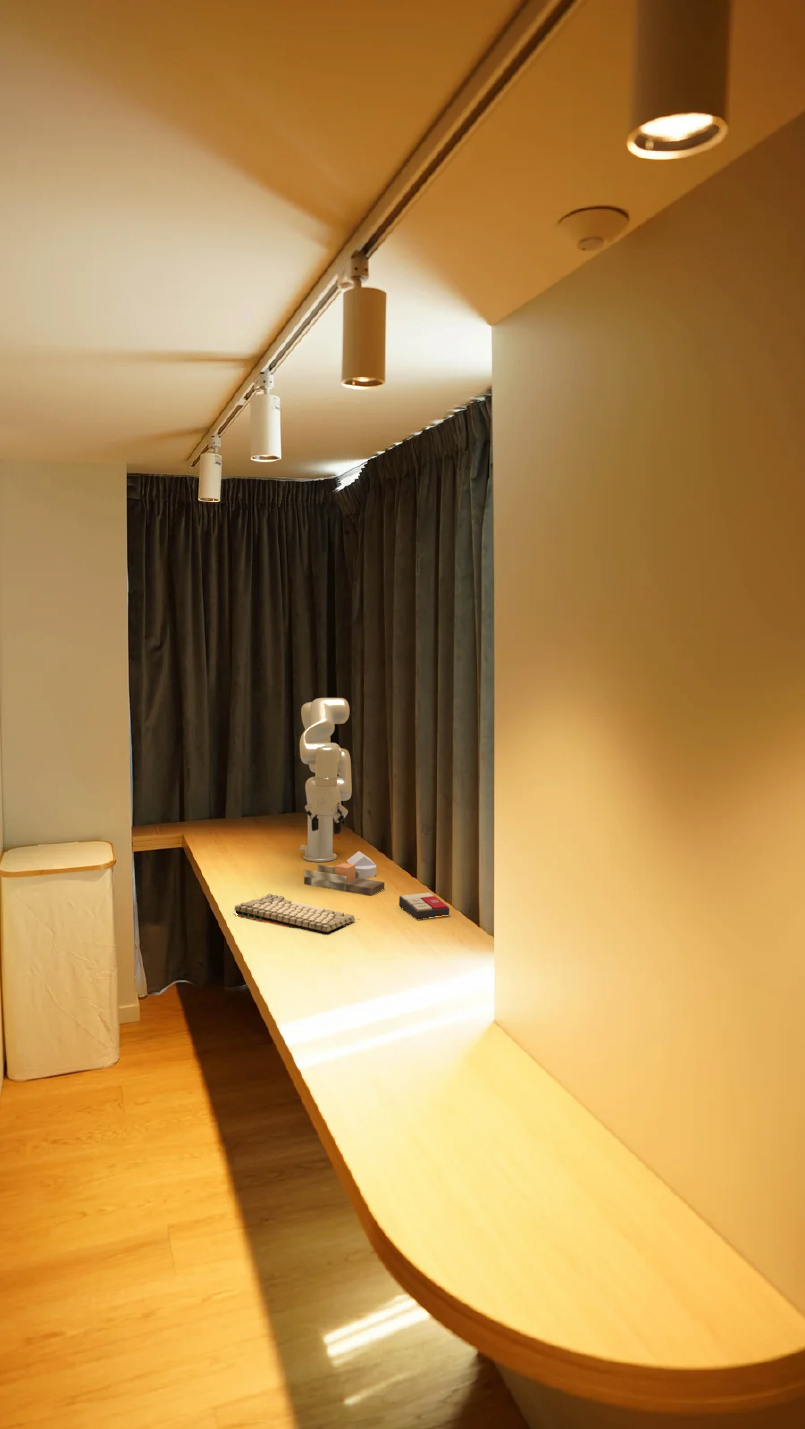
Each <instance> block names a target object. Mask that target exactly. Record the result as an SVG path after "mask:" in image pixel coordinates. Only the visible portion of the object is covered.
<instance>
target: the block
mask: <svg viewBox="0 0 805 1429" xmlns="http://www.w3.org/2000/svg"><path fill="white" fill-rule="evenodd" d="M334 867H335V875H341V876H347V883H348V882H350V881H352V880H355V865H353V864H349V863H348V862H347V863H345V862H341V863H339V864H337V865H335V866H334Z"/></svg>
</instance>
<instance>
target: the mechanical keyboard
mask: <svg viewBox="0 0 805 1429" xmlns="http://www.w3.org/2000/svg"><path fill="white" fill-rule="evenodd" d="M234 911H235V912H236V913H237V914H238V915H237V916H238V917H237V916H236V915H235V916H234V917H237V918H241V919H245V920H250V921H256V922H259V923H264V924H271V925H276V926H280V927H283V928H289V929H298V930H303V931H308V932H313V933H316V934H321V935H327V936H330V935H331V934H333V933H334V934H335V933H336V932H338V931H341V930H343V929H344V928H346V927H347V926H348V925H351V924H352V923H353V922H354V921H356V918H355V916H354V915H353V914H349V913H346V914H344V912H342V911H336V912H335V910H331V909H325V908H323V907H320V906H316V905H312V904H307V903H303V902H299V901H298V902H297V901H294V900H293V901H292V900H288V899H285V897H284V896H282V895H277V894H274V895H273V893H268V894H267V895H262V896H261V897H257V898H256V899H251V900H249V901H247V902H242V903H240V904H236V905H235V906H234ZM358 920H360V921H361V919H359V918H358Z"/></svg>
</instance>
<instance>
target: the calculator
mask: <svg viewBox="0 0 805 1429" xmlns="http://www.w3.org/2000/svg"><path fill="white" fill-rule="evenodd" d="M399 906H400V907H401V908H400V907H399ZM398 907H399V908H400V909H402V908H403V909H404V910H403V909H402V910H403V911H405V912H406V911H407V912H406V913H407V914H409V915H410V914H411V915H412V916H413V917H412V916H411V915H410V916H411V917H412V918H414V917H415V918H416V919H422V920H424V919H423V918H429V917H435V916H442V915H449V916H450V907H449V906H448V905H447V904H446V903H444V902H443V901H442V900H440V899H439V898H438V897H437V896H435V895H433V894H432V893H431V892H422V893H421V892H420V893H412V894H404V895H400V896H399V898H398ZM415 918H414V919H415ZM416 919H415V920H416Z"/></svg>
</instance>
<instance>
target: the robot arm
mask: <svg viewBox="0 0 805 1429" xmlns="http://www.w3.org/2000/svg"><path fill="white" fill-rule="evenodd" d="M300 710H301V711H300V712H301V713H300V714H301V722H302V724H303V727H304V731H303V733H302V734H301V736H300V739H299V755H300V759H301V762H302V763H303V764H305V765H308V767H309V770H310V771H311V772H312V773H315V776H312V777H309V778H308V779H307V780H306V782H305V786H304V787H305V796H306V803H307V804H306V805H304V809H305V811H306V813H307V844H301V845H300V847H299V852H300V851H302V852H304V853H305V854H303V859H304V860H305V861H309V862H314V863H315V862H316V863H322V862H323V863H324V862H325V863H326V862H331V861H334V860H336V859H337V854H336V853H335V852H333V848H334V847H333V840H334V838H333V837H334V836H333V835H338V834H341V831H342V822H343V821H344V820H345V818H346V816H347V815H348V813H349V811H348V809H347V808H346V807H345V806H343V805H342V802H344V801H348V800H350V799H351V796H352V792H353V790H352V786H353V785H352V763H351V756H350V753H349V750H347V749H346V748H341V747H340V745H339V744H337V743H336V742H331V736H332V735H333V734H334V732H335V725H339V724H340V725H341V724H342V725H343V724H345V723H346V722H347V721H348V719H349V716H350V705H349V702H348V701H347V699H346V698H343V697H320V698H319V697H318V698H315V699H314V700H313V701H310V702H305V703H304V704H303V705H302V706H301V709H300ZM333 822H334V823H333Z"/></svg>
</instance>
